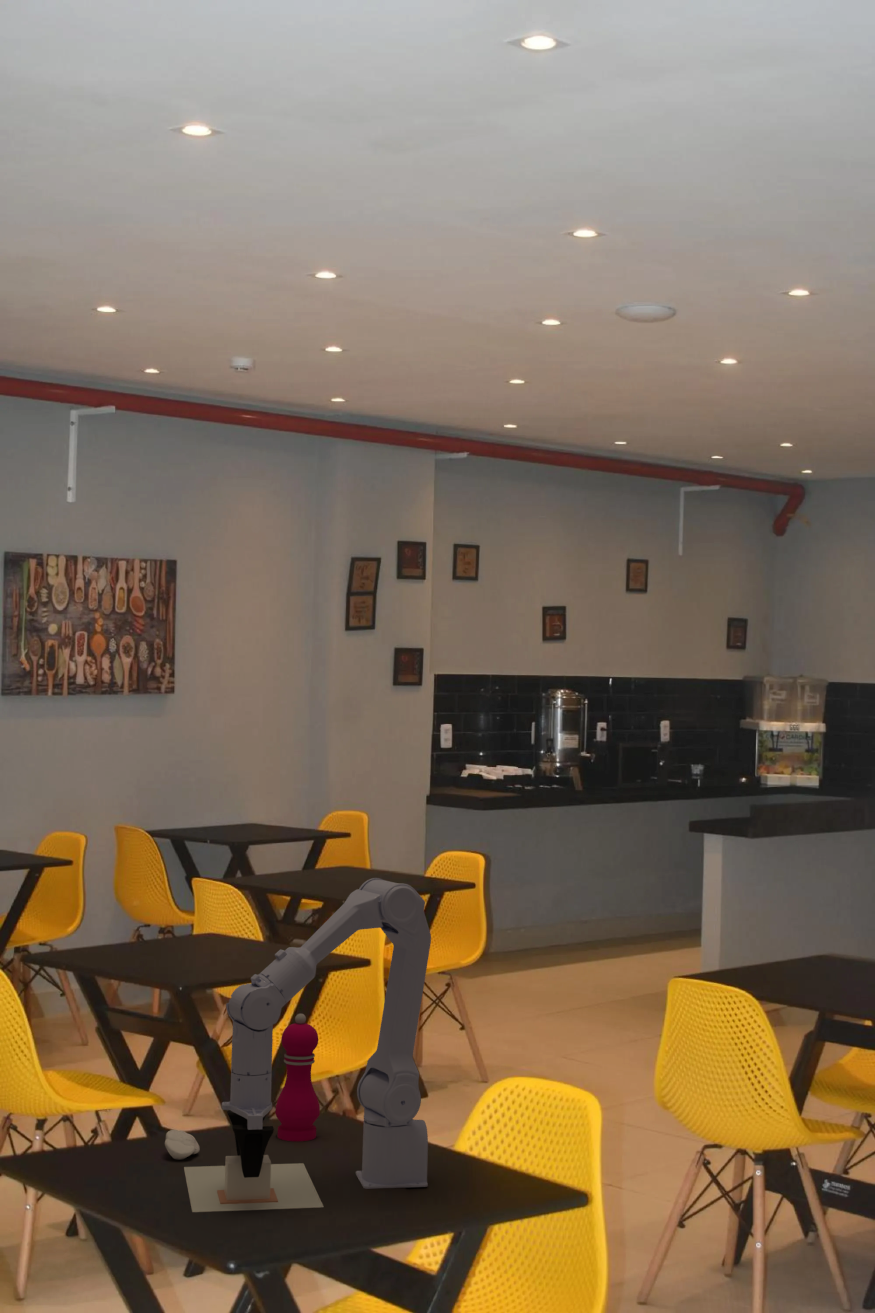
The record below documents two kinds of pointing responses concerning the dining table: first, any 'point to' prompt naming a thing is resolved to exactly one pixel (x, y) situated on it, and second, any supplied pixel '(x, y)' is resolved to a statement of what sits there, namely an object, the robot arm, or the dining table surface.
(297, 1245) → the dining table surface
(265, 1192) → the plain grayish brown block
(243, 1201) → the flat orange brown slab
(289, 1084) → the pepper mill
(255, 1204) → the mat
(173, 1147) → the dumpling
